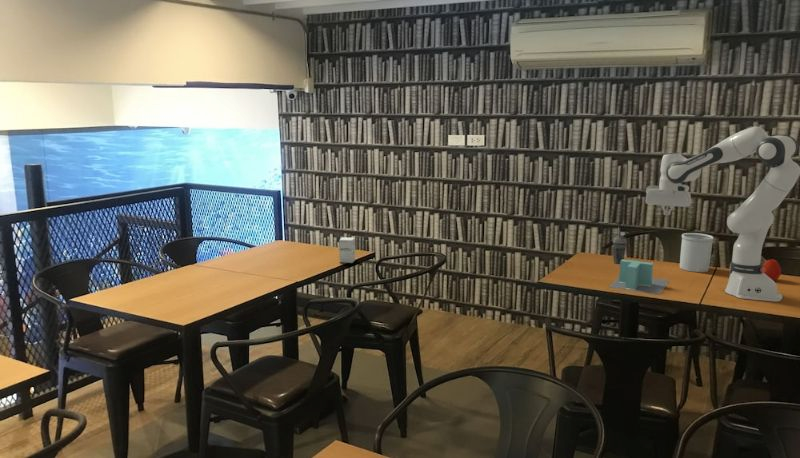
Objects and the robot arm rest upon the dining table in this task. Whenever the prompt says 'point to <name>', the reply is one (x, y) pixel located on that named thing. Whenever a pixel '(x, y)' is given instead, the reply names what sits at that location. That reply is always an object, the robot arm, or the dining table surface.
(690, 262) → the utensil holder
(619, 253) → the beverage cup
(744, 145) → the robot arm
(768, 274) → the apple
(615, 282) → the slate board
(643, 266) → the tee block
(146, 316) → the dining table surface
